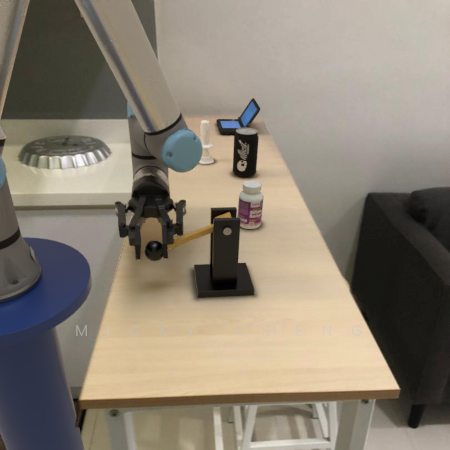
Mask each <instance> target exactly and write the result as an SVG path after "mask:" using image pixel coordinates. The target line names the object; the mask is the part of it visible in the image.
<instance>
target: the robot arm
mask: <svg viewBox="0 0 450 450" xmlns="http://www.w3.org/2000/svg"><path fill="white" fill-rule="evenodd" d="M30 1H31V0H0V120H1V119H2V114H3V110H4V106H5V103H6V98H7V94H8V91H9V86H10V82H11V78H12V74H13V70H14V65H15V62H16V58H17V54H18V50H19V46H20V42H21V37H22V34H23V29H24V25H25V21H26V18H27V13H28V10H29V4H30ZM73 2H74V3H75V5H76V6H77V8H78V10H79V12H80V14H81V16H82V18H83V20H84V22H85V23H86V25H87V27H88V29H89V31H90V33H91V35H92V37H93V39H94V41H95V42H96V44H97V46H98V48H99V50H100V52H101V54H102V56H103V57H104V59H105V61H106V63H107V65H108V67H109V69H110V70H111V72H112V74H113V76H114V78H115V80H116V82H117V84H118V86H119V88H120V89H121V92H122V94H123V95H124V97H125V99H126V101H127V103H126V104H127V105H126V107H127V110H126V112H127V113H126V115H127V116H126V119H127V124H128V132H129V133H128V134H129V143H130V154H131V156H130V157H131V166H132V184H131V198H130V199H129V200H128V201H127V203H124V202H121V201H119V200H117V201H114V208H115V216H116V217H117V227H118V235H119V238H121V239H124V238H127V239H128V245H129V247H134V254H135V255H134V256H135V260H136V261H139V260H141V259H142V233H141V231H142V230H141V229H142V227H143V225H144V224H145V223H146V221H147V220H148V219H151V218H152V219H153V218H154V219H157V222H158V223H159V224H160V226H161V240H162V242H161V243H162V244H163V258H162V259H164V260H165V259H169V251H168V247H167V245H171V244H174V239H175V235H176V236H178V237H180V236H183V235H184V217H185V215H186V214H187V200H186V199H180V200H179V201H174V200H173V199H172V198H171V191H170V189H171V188H170V181H169V169H170V170H172V171H174V172H176V173H188V172H191V171H192V170H194V169H195V168H196V167H197V166H198V165H199V164H200V163H199V162H200V160H201V157H202V153H203V146H202V143H201V138H200V137H199V135H197V134H196V133H195V132H194V131H193V130H191V129H190V128H189V127H188V125H187V123H186V120H185V118H184V116H183V114H182V112H181V109H180V107H179V105H178V102H177V101H176V99H175V96H174V94H173V92H172V89H171V87H170V85H169V83H168V80H167V78H166V76H165V74H164V71H163V69H162V67H161V65H160V62H159V60H158V58H157V55H156V53H155V51H154V49H153V46H152V44H151V42H150V40H149V38H148V36H147V33H146V30H145V28H144V26H143V24H142V22H141V20H140V17H139V15H138V13H137V10H136V8H135V5H134V3H133V2H132V0H74V1H73ZM6 139H7V133H6V132H5V130H4V129H3V127H2V125H1V124H0V304H2V303H6V302H9V301H12V300H15V299H17V298H20V297H22V296H23V295H25V294H27V293H29V292H30V291H31V290H33V289H34V288H35V287H36V286H37V285H38V283H39V282H40V280H41V277H42V272H41V267H40V264H39V262H38V260H37V258H36V257H35V255H34V251H33V249H32V248H31V246H30V248H29V246H28V245H27V243H26V242H25V240H24V239H23V235H22V233H21V228H20V225H19V224H20V223H19V221H18V217H17V212H16V209H15V206H14V202H13V197H12V193H11V188H10V185H9V181H8V177H7V167H6V163H5V161H4V159H3V158H2V155H3V153H4V152H3V151H4V147H5V143H6ZM171 211H173V212H174V213H175V215H176V216H175V223H174V221H173V219H171V218H170V215H169V214H168V213H170V212H171ZM129 212H131V213H132V214H133V215H132V217H131V219H130V221H129V223H128V224H127V216H128V213H129Z"/></svg>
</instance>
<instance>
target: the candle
mask: <svg viewBox="0 0 450 450" xmlns="http://www.w3.org/2000/svg"><path fill="white" fill-rule="evenodd" d="M210 125H211V122H210V121H209V120H206V119H203V120H201V121H200V127H199V132H200V140H201V143H202V146H203V153H202V157H201V160H200V162H199V163H198V164H200V165H201V164H202V165H210V164H213V163H214V162H215V160H214V158H212V155H211V153H210V151H209V150H210V149H211V148H213V147H214V144H213V143H211V141H210V138H211V137H210V136H211V134H210V133H211V132H210V131H211V130H210V128H211V126H210Z"/></svg>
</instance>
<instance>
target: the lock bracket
mask: <svg viewBox="0 0 450 450" xmlns="http://www.w3.org/2000/svg"><path fill="white" fill-rule="evenodd" d="M228 212H230V214H231V217H232V218H215V217H217V216H220V215H223V214H225V213H228ZM240 222H241V220H240V217H238V207H236V206H226V207H225V206H224V207H223V206H221V207H210V224H209V225H211V224H213V233H210V234H209V236H210V237H209V263H203V264H202V263H200V264H193V274H194V280H195V287H196V288H195V289H196V294H197V298H218V297H237V296H254V295H255V287H254V284H253V281H252V278H251V275H250V272H249V268H248V265H247V262H239V257H240V255H239V254H240V240H241V239H240V237H241V227H240Z"/></svg>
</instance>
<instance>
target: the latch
mask: <svg viewBox="0 0 450 450" xmlns="http://www.w3.org/2000/svg"><path fill="white" fill-rule="evenodd" d="M215 218H232V217H231V214H230V212H228V213H225V214H223V215H220V216H217V217H215ZM210 233H213V224H211V225H210V224H209V225H206V226H204V227H202V228H199V229H196V230H193V231H191V232H188V233H185V234H183V235H182V236H178V237H176V238H175V237H174V244H171V245H167V247H168V250H171V249H174V248H177V247H179V246H181V245H182V246H183V245H184V244H187V243H189V242H191V241H194V240H197V239H200V238H203V237H205V236H207V235H210ZM143 253H144V256H145V258H147V259H148V260H149V261H151V262H159V261H161V260H162V259H163V243H162V242H161V241H159V240H156V239H153V240H150V241H148V242H147V243H146V244H145V246H144V249H143Z"/></svg>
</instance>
